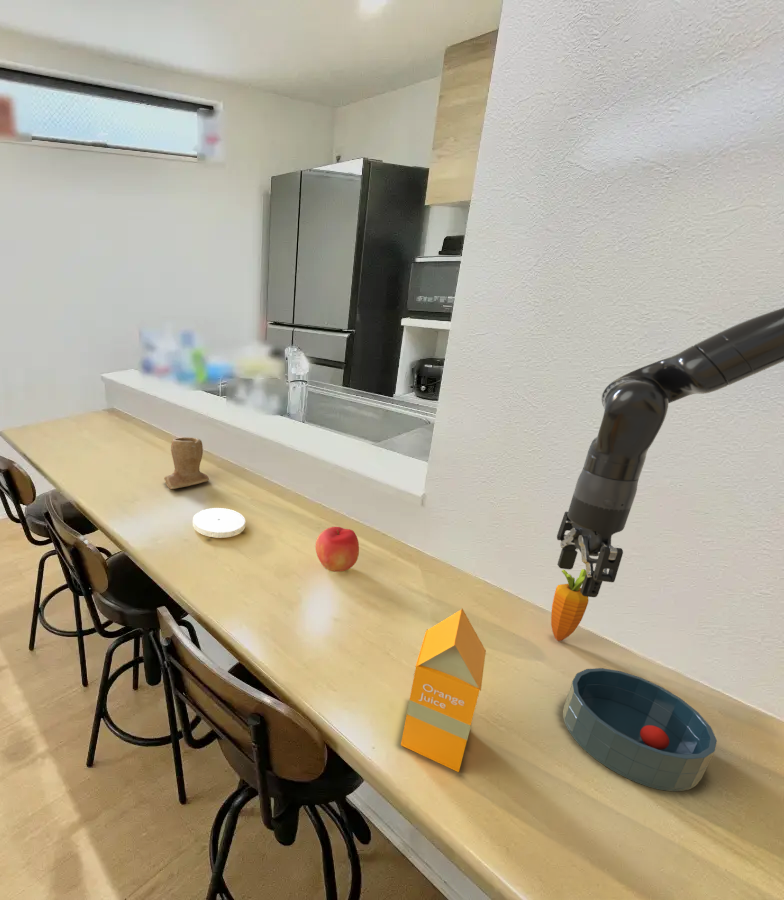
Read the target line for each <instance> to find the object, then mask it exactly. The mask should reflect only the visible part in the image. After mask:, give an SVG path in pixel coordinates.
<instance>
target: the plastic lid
mask: <svg viewBox="0 0 784 900" xmlns="http://www.w3.org/2000/svg"><path fill="white" fill-rule="evenodd" d="M192 528H193V529H194V530H195V531H196V532H197V533H199V534H201V535H202V536H205V537H210V538H217V539H219V538H220V539H223V538H224V539H225V538H231V537H235V536H238V535H239V534H241V533H243V531H244V530H245V528H246V518H245V517H244V515H243V514H242V513H240V512H238V511H236V510H233V509H231V508H230V509H229V508H225V507H211V508H206V509H205V508H204V509H202V510H199V511H198V512H196V513H195V514H194V515H193V516H192Z"/></svg>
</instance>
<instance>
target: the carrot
mask: <svg viewBox="0 0 784 900" xmlns="http://www.w3.org/2000/svg"><path fill="white" fill-rule="evenodd" d="M561 573H562V574H563V575H564V576H565V578H566V581H567V583H562V584H558V585H557V586H556V587H555V591H554V595H553V599H552V603H551V616H550V625H551V632H552V634H553V637H554V639H556V641H557V642H560V641H563V640H565V639H567V638H569V637H570V636H571V635H572V634H573V633H574V632H575V630H577V628H578V626H580V623H581V622H582V620H583V617H584V615H585V612H586V610H587V607H588V605H589V597H587V596H583V595H582V594H581V592H580V590H581V587H582V584H583V581H584V578H585V575H586V568H581V570H580V573H579V575H578V577H576V579H575V576H572V574H570V573H568V572H567V571H566V569H562V570H561Z"/></svg>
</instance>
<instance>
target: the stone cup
mask: <svg viewBox="0 0 784 900" xmlns="http://www.w3.org/2000/svg"><path fill="white" fill-rule="evenodd" d="M170 452H171V458H172V461H173V466H174V471H173V473H171V474H168V475H165V476H163V477H164V478H163V480H164V481H165V484H166V486H167V487H168V489H169V490H174V489H175V490H176V489H179V488H180V489H181V488H186V487H190V486H191V487H192V486H195V485H198V484H202V483H206V482H208V481H210V477H209V476H208V475H207V474H205V473H203V472H201V470H200V466H201V462H202V459H203V455H204V447H203V442H202V440H201V439H200V438H198V437H190V436H189V437H188V436H187V437H185V436H184V437H177V438H173V439H172V441H171V445H170Z"/></svg>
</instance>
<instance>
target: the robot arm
mask: <svg viewBox="0 0 784 900" xmlns="http://www.w3.org/2000/svg"><path fill="white" fill-rule="evenodd" d="M781 363H784V307H782V308H778V309H775V310H773V311H772V310H771V311H769V312H766V313H763V314H761V315H759V316H758V315H757V316H755V317H752V318H749V319H748V320H747V319H746V320H745V321H742V322H739V323H737V324H735V325H732V326H731V327H728V328H726V329H723V330H722V331H719V332H717V333H715V334H713V335H712V336H709V337H707V338H705V339H703V340H701V341H699V342H697V343H695V344H694V345H691V346H690V347H687V348H685V349H684V350H682V351H680V352H678V353H676V354H673V355H672V356H669V357H666V358H663V359H660V360H658V361H655V362H651V363H650V364H646V365H644V366H642V367H640V368H637V369H635V370H632V371H629V372H628V373H626V374H623V375H622V376H619V377H618V378H616V379H615V380H613V381H611V382H610V383H609V384H608V385H607V386H605V388H604V390H603V392H602V394H601V405H602V407H603V409H604V411H603V416H602V419H601V423H600V426H599V430H598V433H597V436H596V437H594V438H593V440H591V443H590V445H589V448H588V450H587V454H586V457H585V461H584V464H583V467H582V470H581V472H580V474H579V476H578V478H577V481H576V483H575V488H574V491H573V494H572V497H571V501H570V504H569V507H568V511H564V513H563V517H562V519H561V523H560V524H559V525H560V526H559V529H558V531H557V534H556V539H557V541H560V543H559V544H560V548H561V551H560V554H559V558H558V561H557V567H558V568H559V569H562V570H573V568H574V565H575V562H576V559H577V556H578V553H579V552H580V555H581V562H582V563H583V564H584V565H585V570H586V575H585V578H584V581H583V584H582V585H581V587H580V588H581V590H580V592H581V594H582V595H583V596H587V597H588V598H597V597H598V596H599V593H600V589H601V587H602V584H603V582H606V583H615V581H616V578H617V575H618V571H619V567H620V564H621V561H622V558H623V554H624V550H623V548H621V547H614V546H613V545H612V536H613V535H614V534H617V533H621V532H622V531H623V530H624V529H625V527H626V524H627V521H628V517H629V516H630V512H631V509H632V507H633V504H634V500H635V498H636V494H637V491H638V483H639V480H640V477H641V473H642V470H643V468H644V466H645V462H646V458H647V454H648V451H649V449H650V448H651V446H652V445H653V443H654V441H655V439H656V437H657V436H658V434H659V433H660V430H661V428H662V426H663V424H664V421H665V420H666V417H667V413H668V409H669V404H671V403H673V402H676V401H678V400H681V399H683V398H686V397H688V396H691V395H697V394H698V395H704V394H709V393H712V392H716V391H718V390H721V389H724V388H726V387H728V386H731V385H733V384H736V383H737V382H740V381H742V380H744V379H746V378H749V377H751V376H753V375H756V374H758V373H760V372H762V371H765V370H767V369H769V368H772V367H774V366H776V365H779V364H781ZM567 531H569V532H568V533H567V534H566V532H567ZM578 551H579V552H578ZM593 557H597V558H593ZM594 565H595V567H594Z"/></svg>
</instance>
